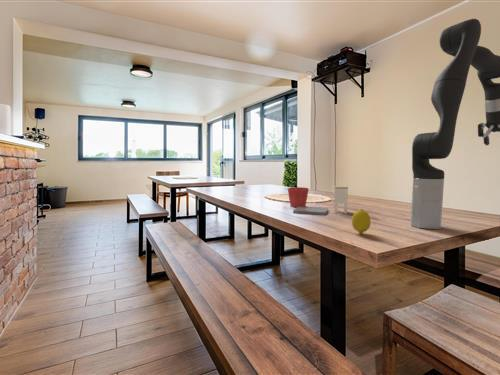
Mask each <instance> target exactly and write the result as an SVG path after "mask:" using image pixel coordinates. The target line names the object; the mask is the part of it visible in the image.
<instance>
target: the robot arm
mask: <svg viewBox="0 0 500 375" xmlns="http://www.w3.org/2000/svg"><path fill="white" fill-rule="evenodd" d="M481 33H482V24H481V22H480V20H479V19H478V18H470V19H466V20H464V21H462V22H459V23H456V24H453V25H451V26H449V27H447V28H445V29H443V30H442V32H440V36H439V47H440V49H441V51H443V52H444V53H445V54H447V55H449V56H452V57H453V58H452V59H451V61H450V63H448V65H446V67H444V69H443V70H442V71H441V72H440V74H439V75H438V76H437V78H436V80H435V82H434V85H433V89H432V92H431V98H430V101H431V104H432V105H433V108H434V110H435V111H436V113H437V115H438V117H439V127H438V130H437V131H434V132H424V133H418V134H417V135H415V136H414V138H413V142H412V147H411V159H412V160H411V162H412V164H411V168H412V175H413V176H412V178H413V179H412V192H411V194H412V195H411V196H412V197H411V198H412V199H411V210H410V212H411V213H410V214H411V216H410V225H411V226H413V227H415V228H418V229H431V230H440V229H442V219H443V216H442V215H443V202H444V200H443V199H444V188H445V171H444V170H442V169H440V168H437V167H435V166H433V165H432V164H431V163H430V160H441V159H443V160H444V159H446V158H448V157H449V156H450V154H451V153H452V150H453V147H454V146H453V145H454V140H455V133H456V126H457V125H456V124H457V122H458V121H457V120H458V114H459V110H460V107H461V104H462V100H463V96H464V93H465V89H466V85H467V80H468V76H469V71H470V68H471V66H472V67H473V69H475V70H476V71H477V77H478V80H479V83H480V84H481V85H482V89H483V91H484V108H485V109H484V110H485V121H486V122H485V123H484V122H480V123H478V124H477V137H479V138H483V144H484V145H485V146H489V145H490V134H491V133H492V132H493V133H497V132H499V133H500V82H494V81H493V80H494V79H499V78H500V55H498V54H497V55H496V54H495V53H493V51H491V49H489V48H487V47H486V46H481V45H479V42H480V40H481ZM484 128H487V130H486V132H485V133H484Z"/></svg>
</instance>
